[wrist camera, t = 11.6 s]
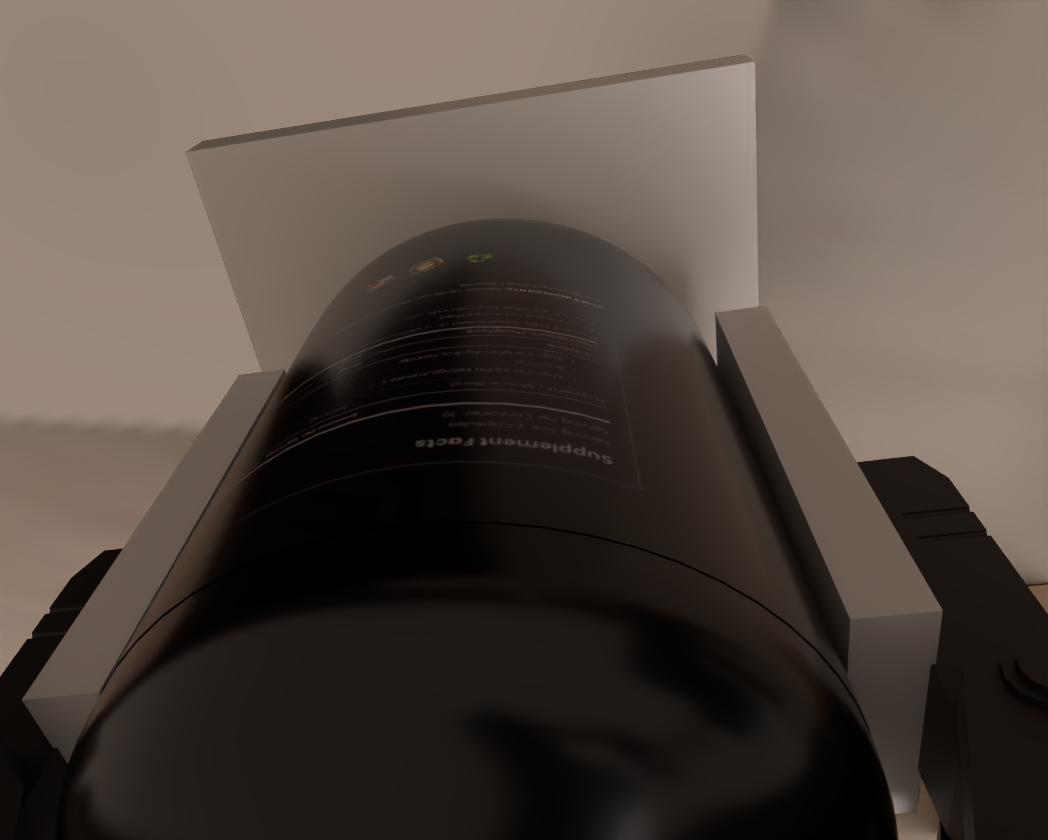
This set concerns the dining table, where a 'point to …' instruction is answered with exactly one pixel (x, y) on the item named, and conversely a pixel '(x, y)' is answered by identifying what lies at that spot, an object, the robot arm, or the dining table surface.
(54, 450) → the dining table surface
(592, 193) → the grey pad
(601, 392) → the supplement bottle
